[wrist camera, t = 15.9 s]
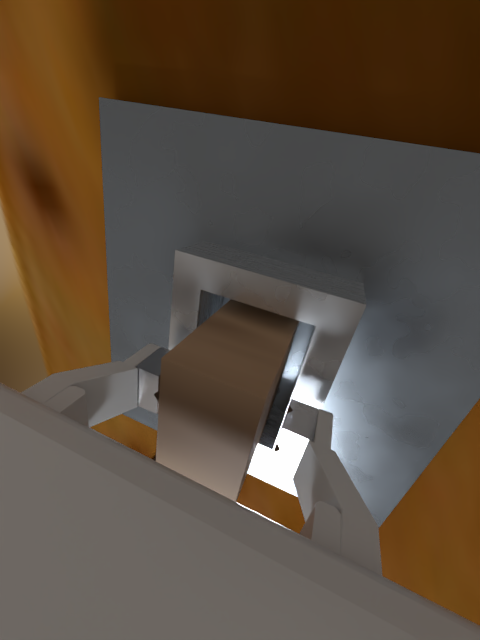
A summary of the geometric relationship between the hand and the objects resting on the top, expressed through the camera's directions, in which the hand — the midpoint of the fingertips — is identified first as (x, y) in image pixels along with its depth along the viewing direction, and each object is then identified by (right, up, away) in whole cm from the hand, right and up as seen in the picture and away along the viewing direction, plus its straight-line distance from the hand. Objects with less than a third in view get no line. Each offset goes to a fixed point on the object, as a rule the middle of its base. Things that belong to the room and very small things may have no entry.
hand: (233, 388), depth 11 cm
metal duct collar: (+1, +2, +4) cm, 4 cm away
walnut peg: (+1, +1, +3) cm, 3 cm away
